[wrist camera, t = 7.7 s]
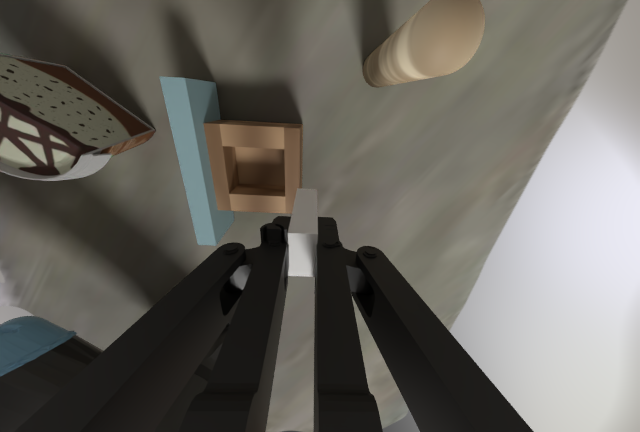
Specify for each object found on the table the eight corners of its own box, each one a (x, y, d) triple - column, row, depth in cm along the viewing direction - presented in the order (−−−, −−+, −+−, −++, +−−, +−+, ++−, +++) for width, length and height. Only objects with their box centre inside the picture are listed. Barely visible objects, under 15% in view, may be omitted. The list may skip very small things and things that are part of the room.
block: (230, 196, 29) (217, 210, 25) (220, 119, 25) (203, 123, 21) (301, 199, 29) (299, 213, 26) (302, 124, 25) (299, 128, 22)
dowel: (360, 86, 24) (405, 73, 11) (365, 48, 22) (422, -15, 10) (391, 88, 24) (469, 77, 11) (398, 50, 22) (496, -10, 10)
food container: (34, 106, 25) (-128, 110, 16) (48, 53, 22) (-130, 23, 14) (147, 178, 28) (67, 215, 19) (168, 139, 26) (89, 160, 17)
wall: (219, 219, 31) (197, 244, 25) (196, 81, 23) (159, 76, 18) (234, 220, 31) (216, 245, 25) (215, 82, 24) (184, 77, 18)
